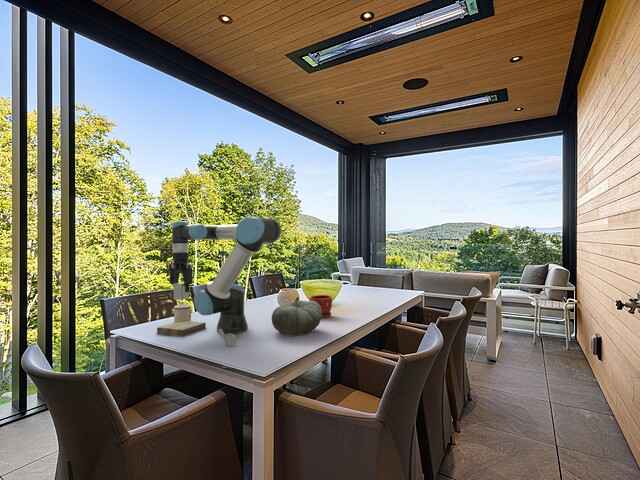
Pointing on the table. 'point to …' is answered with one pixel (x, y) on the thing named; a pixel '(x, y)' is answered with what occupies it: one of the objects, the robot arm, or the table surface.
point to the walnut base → (181, 328)
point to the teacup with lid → (182, 312)
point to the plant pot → (323, 304)
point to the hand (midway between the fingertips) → (181, 298)
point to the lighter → (228, 339)
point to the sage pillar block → (179, 291)
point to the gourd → (297, 317)
